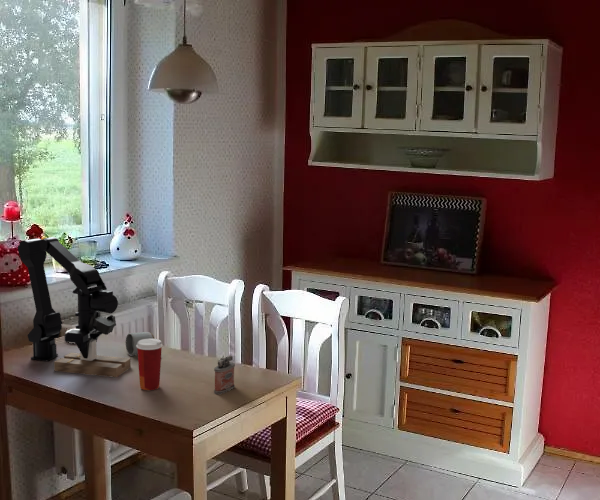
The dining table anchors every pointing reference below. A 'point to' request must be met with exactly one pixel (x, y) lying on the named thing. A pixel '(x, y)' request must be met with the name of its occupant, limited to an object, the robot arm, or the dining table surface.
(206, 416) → the dining table surface
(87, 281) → the robot arm
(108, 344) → the dining table surface
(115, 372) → the fader track
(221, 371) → the lighter
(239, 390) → the dining table surface
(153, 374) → the paper cup
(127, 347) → the ceramic mug
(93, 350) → the fader tab
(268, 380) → the dining table surface
